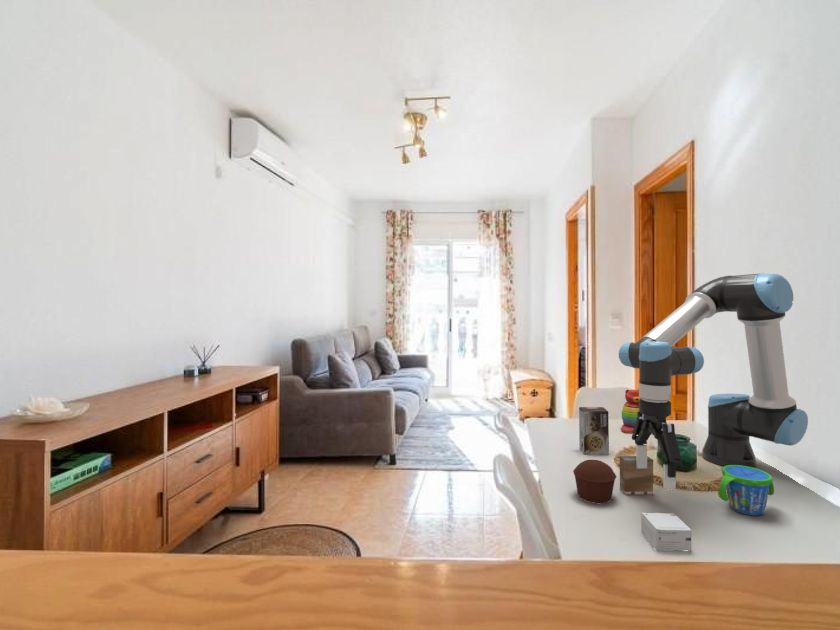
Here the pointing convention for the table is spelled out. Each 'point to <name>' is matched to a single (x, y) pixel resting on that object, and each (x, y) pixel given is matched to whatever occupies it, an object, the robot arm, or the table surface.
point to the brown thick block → (635, 477)
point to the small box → (665, 531)
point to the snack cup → (745, 488)
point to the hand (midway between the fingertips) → (654, 477)
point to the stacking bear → (630, 411)
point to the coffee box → (593, 430)
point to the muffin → (594, 481)
